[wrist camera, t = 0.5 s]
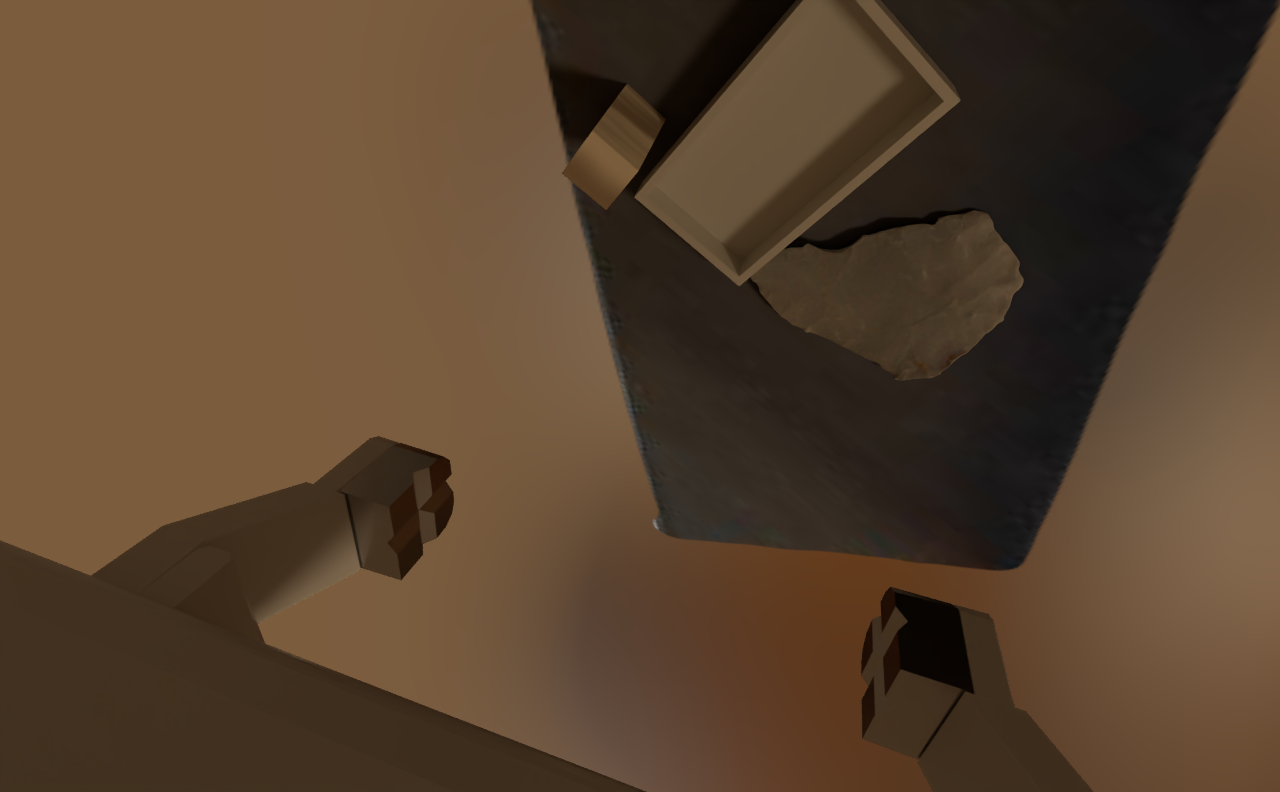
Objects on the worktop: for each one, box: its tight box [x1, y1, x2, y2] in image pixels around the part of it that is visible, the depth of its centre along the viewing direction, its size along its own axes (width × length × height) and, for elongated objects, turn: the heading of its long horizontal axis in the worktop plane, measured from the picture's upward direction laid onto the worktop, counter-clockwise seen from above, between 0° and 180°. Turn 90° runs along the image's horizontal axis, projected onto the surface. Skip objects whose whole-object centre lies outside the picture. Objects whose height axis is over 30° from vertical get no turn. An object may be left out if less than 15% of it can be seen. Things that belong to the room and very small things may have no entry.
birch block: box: [562, 84, 666, 210], centre depth 51 cm, size 4×4×11 cm
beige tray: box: [635, 0, 961, 286], centre depth 52 cm, size 24×14×4 cm, turn 143°
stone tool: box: [750, 210, 1023, 380], centre depth 60 cm, size 20×3×25 cm
